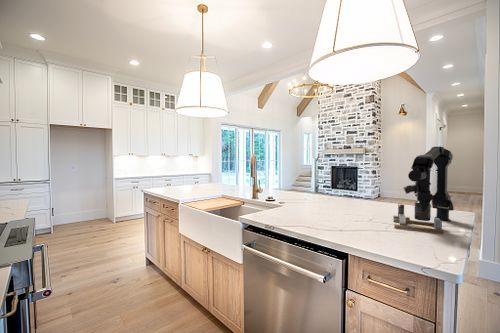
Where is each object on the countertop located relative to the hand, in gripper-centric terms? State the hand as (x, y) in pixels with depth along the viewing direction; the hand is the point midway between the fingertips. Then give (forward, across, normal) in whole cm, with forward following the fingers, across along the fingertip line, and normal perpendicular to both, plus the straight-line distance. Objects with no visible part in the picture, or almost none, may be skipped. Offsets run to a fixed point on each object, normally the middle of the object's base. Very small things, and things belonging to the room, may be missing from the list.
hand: (422, 209), depth 124 cm
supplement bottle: (+5, 0, 0) cm, 5 cm away
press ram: (+9, -5, -9) cm, 14 cm away
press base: (+9, -3, -3) cm, 10 cm away
